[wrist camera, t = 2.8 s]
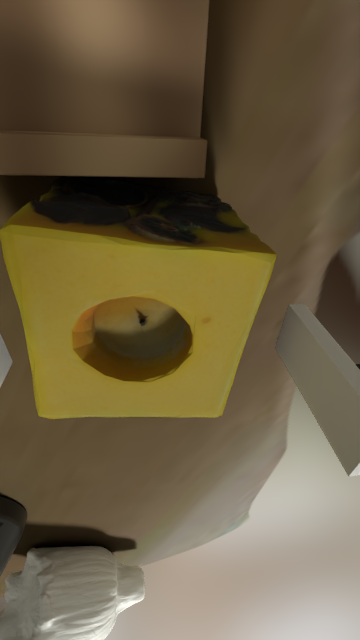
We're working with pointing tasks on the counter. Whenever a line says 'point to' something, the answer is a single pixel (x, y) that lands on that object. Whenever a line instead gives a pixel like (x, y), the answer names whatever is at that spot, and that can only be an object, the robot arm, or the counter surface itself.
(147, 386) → the candle
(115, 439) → the counter surface
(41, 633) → the mask
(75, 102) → the display stand
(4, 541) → the robot arm
